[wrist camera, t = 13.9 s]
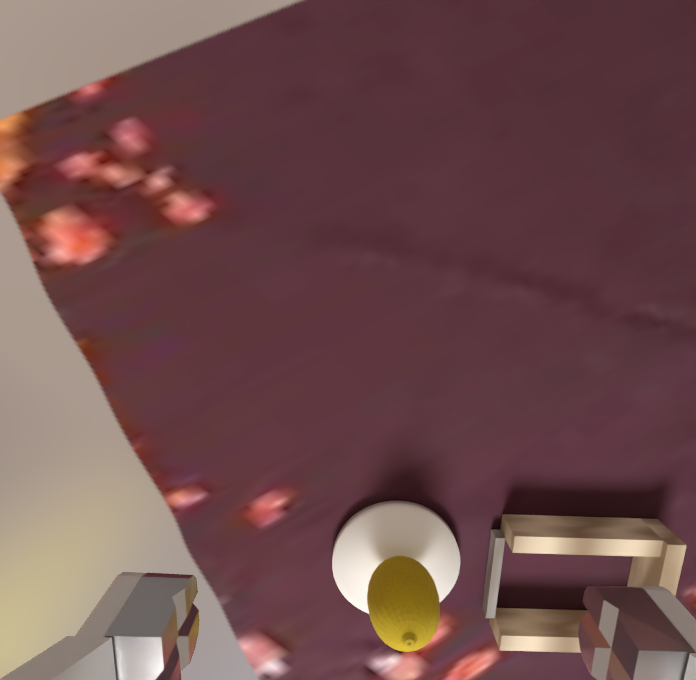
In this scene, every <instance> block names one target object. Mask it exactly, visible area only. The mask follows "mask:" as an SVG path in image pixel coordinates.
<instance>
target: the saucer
mask: <svg viewBox="0 0 696 680" xmlns="http://www.w3.org/2000/svg"><path fill="white" fill-rule="evenodd" d="M395 556H406V557H410V558H412V559H414V560H416V561H418V562H420V563H421V564H422V565H423V566H424V567H425V568H426V569H427V570H428V572H429V573H430V575H431V576H432V578H433V580H434V582H435V585H436V588H437V592H438V595H439V602H441V601H442V600H443V599H444V598H445V597H446V596H447V595H448V594H449V592H450V591H451V589H452V588H453V586H454V584H455V582H456V580H457V577H458V574H459V569H460V553H459V549H458V545H457V543H456V540H455V537H454V535H453V533H452V530H451V529H450V527H449V526H448V524H447V523H446V522H445V521H444V520H443V519H442V518H441V517H440V516H439V515H438V514H437V513H435V512H434V511H432V510H431V509H429V508H427V507H425V506H423V505H420V504H417V503H413V502H408V501H399V500H398V501H385V502H380V503H376V504H373V505H371V506H368V507H366V508H364V509H362V510H360V511H359V512H357V513H356V514H355V515H353V516H352V517H351V518H350V519H349V520H348V521H347V522H346V523H345V524H344V526H343V527H342V528H341V530H340V532H339V533H338V535H337V538H336V540H335V543H334V547H333V558H332V568H333V575H334V579H335V581H336V584H337V586H338V588H339V590H340V591H341V593H342V594H343V595H344V597H345V598H346V599H347V600H348V601H349V602H350V603H352V604H353V605H354V606H355V607H357V608H359V609H360V610H362V611H364V612H366V613H368V614H369V610H368V604H367V593H368V585H369V581H370V579H371V576H372V574H373V572H374V570H375V569H376V568H377V567H378V565H379V564H380V563H382V562H383V561H384V560H386V559H388V558H391V557H395Z"/></svg>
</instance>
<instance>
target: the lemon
mask: <svg viewBox="0 0 696 680" xmlns="http://www.w3.org/2000/svg"><path fill="white" fill-rule="evenodd" d="M367 604H368V610H369V615H370V619H371V622H372V624H373V626H374V628H375V630H376V632H377V634H378V636H379V637H380V638H381V639H382V640H383V641H384V642H385V643H386V644H387V645H388V646H390V647H392V648H393V649H396V650H399V651H405V652H408V651H415V650H418V649H420V648H422V647H424V646H425V645H426V644H427V643H428V642H429V641H430V640H431V639H432V637H433V636H434V634H435V632H436V630H437V626H438V623H439V616H440V602H439V595H438V592H437V588H436V585H435V582H434V580H433V578H432V576H431V575H430V573H429V572H428V570H427V569H426V568H425V567H424V566H423V565H422V564H421V563H420V562H418V561H416V560H414V559H412V558H410V557H406V556H395V557H391V558H388V559H386V560H384V561H383V562H382V563H380V564H379V565H378V567H377V568H376V569H375V570H374V572H373V574H372V576H371V579H370V581H369V585H368V593H367Z"/></svg>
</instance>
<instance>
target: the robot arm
mask: <svg viewBox="0 0 696 680" xmlns="http://www.w3.org/2000/svg"><path fill="white" fill-rule="evenodd" d="M197 592H198V591H197V581H196V577H195V576H194V575H179V574H161V573H132V572H123V573H121V574H119V575H118V576H117V577H116V578H115V580H114V581H113V582H112V584H111V585H110V587H109V588H108V590H107V591H106V592H105V594H104V595H103V597H102V598H101V600H100V601H99V602H98V604H97V605H96V607H95V608H94V610H93V611H92V613H91V614H90V615H89V617H88V618H87V620H86V621H85V623H84V624H83V625H82V627H81V628H80V630H79V631H78V633H77V634H76V635H75V636H67V637H65V638H64V639H62V640H61V641H59V642H58V643H56V644H54V645H53V646H51V647H50V648H48V649H47V650H45V651H43V652H42V653H40V654H39V655H37V656H36V657H34V658H32V659H31V660H30V661H28V662H26V663H25V664H23V665H21V666H20V667H18V668H17V669H15V670H14V671H12V672H10V673H9V674H7V675H6V676H4V677H3V678H1V679H0V680H181V670H183V669H184V668H185V667H186V666H187V665H188V664H189V663H190V661H191V658H192V656H193V653H194V650H195V646H196V641H197V636H198V629H199V610H198V609H197V608H196V607H195V605H194V604H193V601H194V599H195V597H196V594H197ZM583 604H584V605H585V607H586V609H587V610H588V613H587V614H586V615H585V616H584V617H583V618H582V619H581V620H580V622H579V631H578V638H579V645H580V651H581V654H582V657H583V659H584V662H585V664H586V666H587V668H588V670H589V672H590V674H591V675H592V676H593V677H595V678H596V679H597V680H696V620H695V618H694V617H693V616H692V615H691V614H690V613H689V612H688V611H687V610H686V608H685V607H684V606H683V605H682V604H681V603H680V602H679V601H678V600H677V598H676V597H675V596H674V595H673V594H672V593H671V592H670V591H669V590H668V589H666V588H664V587H662V586H637V587H622V586H588V587H587V589H586V590H585V592H584V597H583Z"/></svg>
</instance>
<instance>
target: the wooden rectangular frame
mask: <svg viewBox="0 0 696 680" xmlns="http://www.w3.org/2000/svg"><path fill="white" fill-rule="evenodd" d="M505 539H506V541H507V543H508V545H509V547H510V549H511V550H512V552H513V553H542V554H576V555H609V556H633V558H632V563H631V568H630V573H629V578H628V583H627V587H637V586H662V587H664V588H666V589H668V590H669V591H670V592H671V593H672V594H673V595H674V596H675V595H676V590H677V586H678V582H679V577H680V573H681V568H682V564H683V559H684V555H685V550H686V546H687V545H686V544H685V543H684V542H682V541H681V540H680V539H679V538H678V537H677V536H676V535H675V534H674V533H672V532H671V531H670V530H669V529H668V528H667V527H666V526H665V525H664V524H663V523H661V522H660V521H659V520H658V519H644V518H611V517H579V516H546V515H514V514H502V521H501V529H500V530H499V529H491V536H490V544H489V553H488V561H487V569H486V578H485V586H484V595H483V603H482V609H483V612H484V614H485V617H486V618H489V623H490V625H491V628H492V631H493V634H494V636H495V639H496V642H497V644H498V647H499V650H507V651H544V652H581V651H580V645H579V638H578V631H579V622H580V620H581V619H582V618H583V617H584V616H585V615H586V614H587V613H588V610H556V609H521V608H496V606H497V598H498V590H499V582H500V575H501V567H502V559H503V551H504V543H505Z"/></svg>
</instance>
